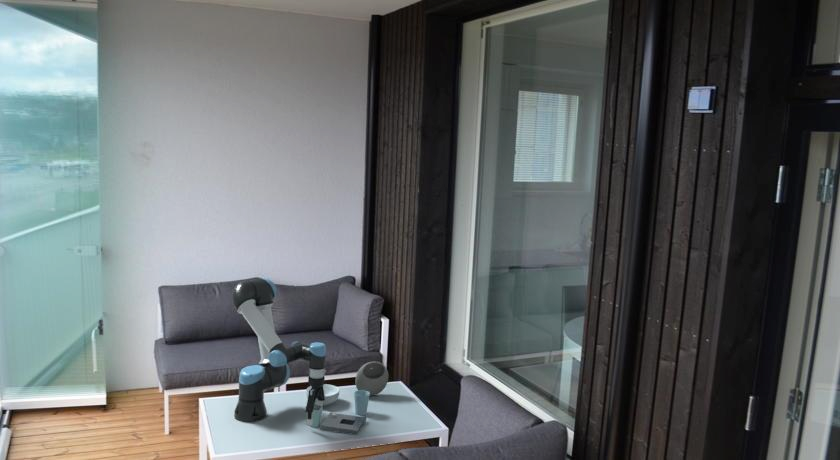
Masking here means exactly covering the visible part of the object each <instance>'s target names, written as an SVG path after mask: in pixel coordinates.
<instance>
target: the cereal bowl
mask: <svg viewBox="0 0 840 460" xmlns="http://www.w3.org/2000/svg"><path fill="white" fill-rule="evenodd" d="M311 388H312V386H311V385H309V386H308V387H307V388H306V390H305V391H306V392H305V393H306V394H305V395H306V399H308V395H309V390H311ZM323 388H324V396H325V397H324V398H325V400H324V401H323V400H322V401H323V406H324V407H326V406H329V405H330V404H333V403H335V402H336V401H337V400H338V398H339V396H340V388H339V387H338V386H337V385H333V384H327V383H324V385H323ZM317 400H318V399H316V400H315V404H314V405H317Z"/></svg>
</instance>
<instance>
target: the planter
mask: <svg viewBox="0 0 840 460" xmlns="http://www.w3.org/2000/svg"><path fill="white" fill-rule="evenodd" d="M354 380H355V387H356V389H357V390H356V391H358V390H364V391H368V392H369V393H370V395H369V397H373V396H376V395H378V394H380V393H382V392H383V391H384V390H385V388H386V387H387V385H388V381H389V371H388V369H387V367H386V365H384V364H383V363H382V362H379V361H370V362H367V363H365V364H363V365H362V366H361V367H360V368H359V369H358V370H357V373H356V375H355V379H354Z"/></svg>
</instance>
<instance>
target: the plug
mask: <svg viewBox="0 0 840 460" xmlns="http://www.w3.org/2000/svg"><path fill="white" fill-rule="evenodd" d="M321 408H322V409H323V407H322V406H319V405H316V404H314V408H313V425H312V426H311V425H307V427H313V428H320V425H321V423H322V415H321ZM309 410H310V409H309Z"/></svg>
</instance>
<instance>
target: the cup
mask: <svg viewBox="0 0 840 460" xmlns="http://www.w3.org/2000/svg"><path fill="white" fill-rule="evenodd" d="M353 394H354V395H353V396H354V409H355V410H354V411H355V414H356V416H364V415H367V411H368V406H369V401H370V396H369V395H370V393H369V392H368V391H364V390H356V391H354V392H353Z"/></svg>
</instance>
